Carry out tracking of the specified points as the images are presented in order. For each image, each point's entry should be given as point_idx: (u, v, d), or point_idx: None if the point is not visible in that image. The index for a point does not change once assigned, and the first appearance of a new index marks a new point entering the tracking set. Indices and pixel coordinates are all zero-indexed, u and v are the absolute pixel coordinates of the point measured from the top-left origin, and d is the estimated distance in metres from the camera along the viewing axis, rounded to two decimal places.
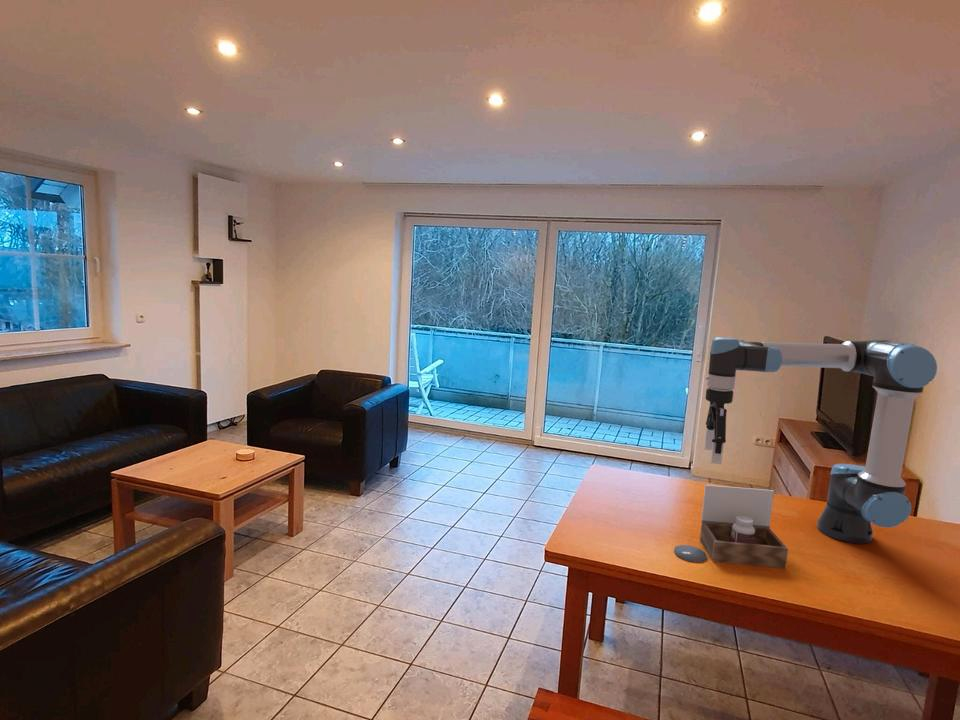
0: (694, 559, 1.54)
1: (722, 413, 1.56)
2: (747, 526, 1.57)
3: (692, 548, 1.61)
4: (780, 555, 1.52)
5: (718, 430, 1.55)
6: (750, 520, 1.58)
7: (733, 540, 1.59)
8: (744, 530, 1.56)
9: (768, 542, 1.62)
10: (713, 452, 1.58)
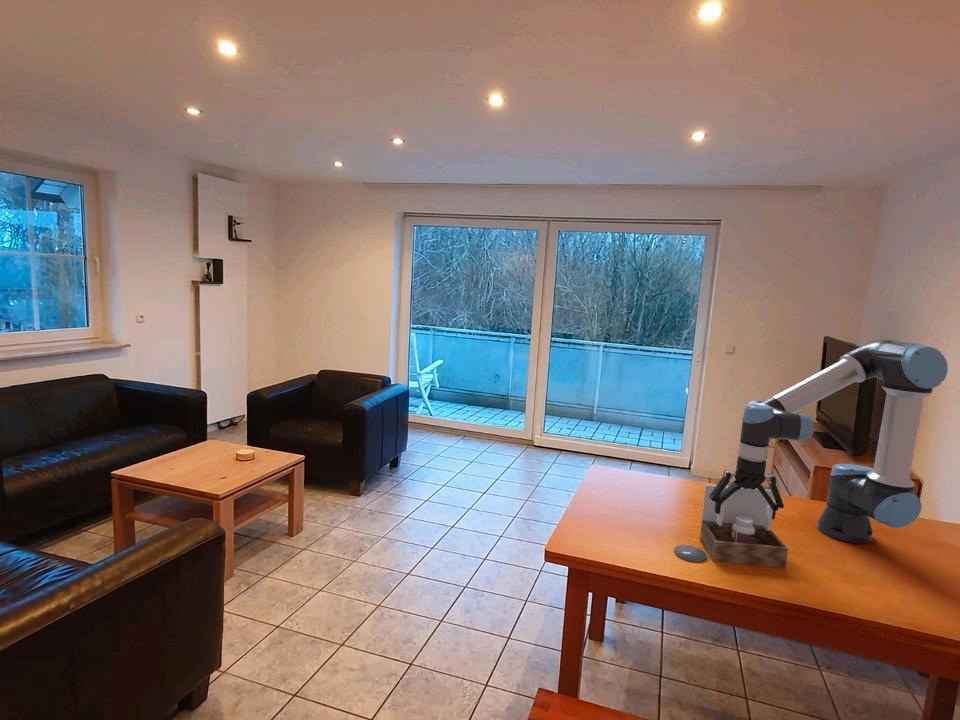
0: (694, 559, 1.54)
1: (725, 475, 1.57)
2: (747, 526, 1.57)
3: (692, 548, 1.61)
4: (780, 555, 1.52)
5: (715, 488, 1.59)
6: (750, 520, 1.58)
7: (733, 540, 1.59)
8: (744, 530, 1.56)
9: (768, 542, 1.62)
10: None
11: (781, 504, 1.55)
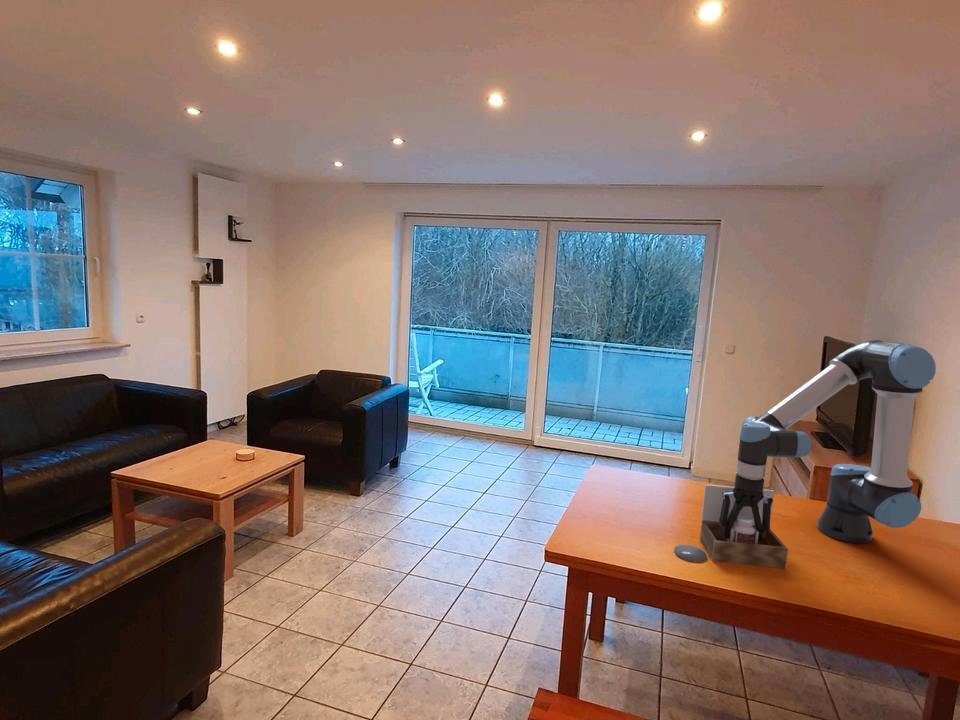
0: (694, 559, 1.54)
1: (724, 498, 1.58)
2: (747, 526, 1.57)
3: (692, 548, 1.61)
4: (780, 555, 1.52)
5: (721, 512, 1.60)
6: (750, 520, 1.58)
7: (733, 540, 1.59)
8: (744, 530, 1.56)
9: (768, 542, 1.62)
10: None
11: (767, 526, 1.57)
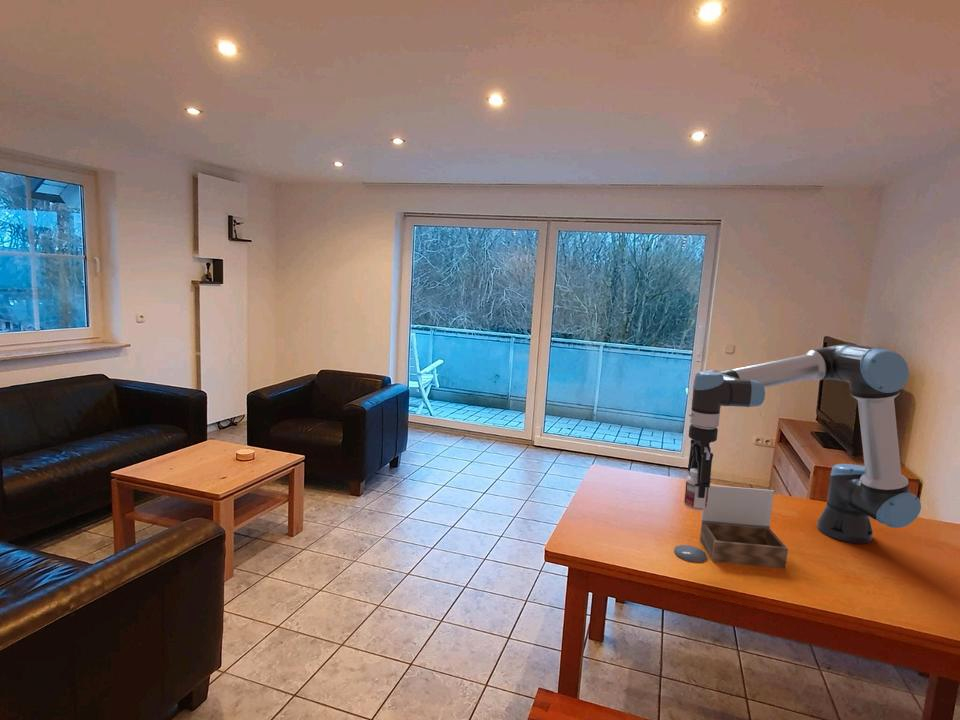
0: (694, 559, 1.54)
1: (708, 458, 1.47)
2: None
3: (692, 548, 1.61)
4: (780, 555, 1.52)
5: (703, 475, 1.48)
6: None
7: None
8: None
9: (768, 542, 1.62)
10: (696, 496, 1.52)
11: None
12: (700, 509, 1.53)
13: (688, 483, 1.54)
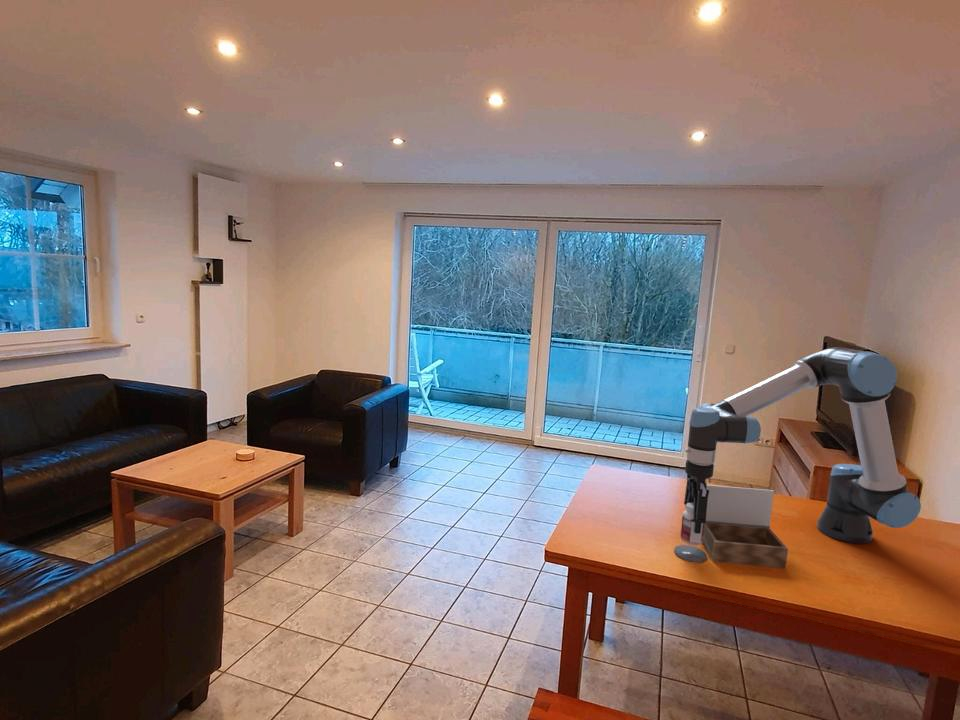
0: (694, 559, 1.54)
1: (704, 494, 1.49)
2: None
3: (692, 548, 1.61)
4: (780, 555, 1.52)
5: (699, 512, 1.50)
6: None
7: None
8: None
9: (768, 542, 1.62)
10: (692, 531, 1.54)
11: None
12: (696, 544, 1.55)
13: (684, 518, 1.56)
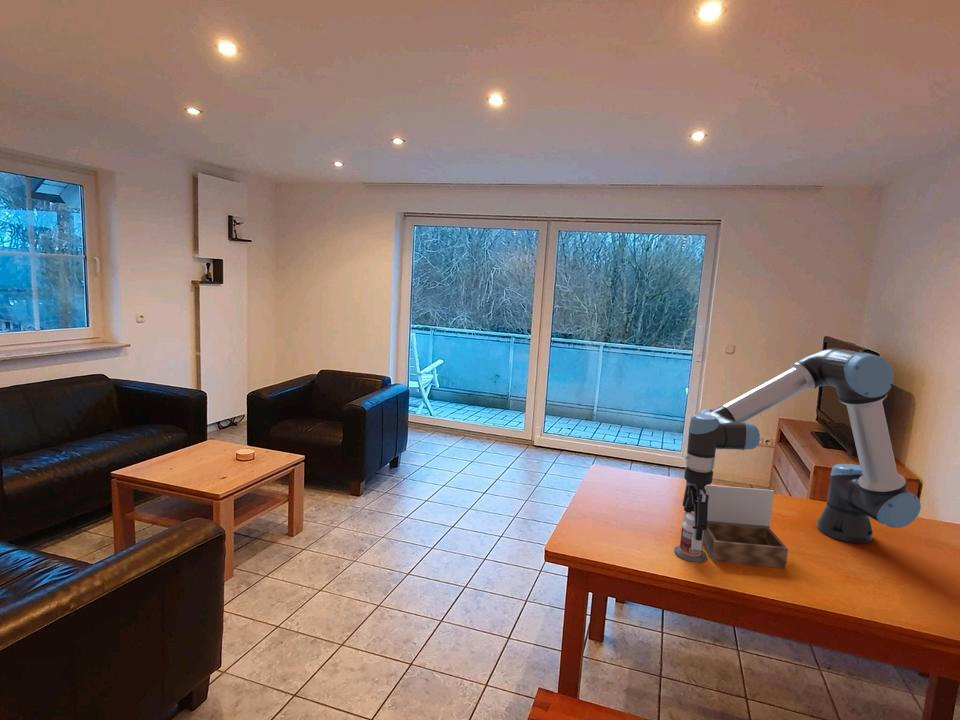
0: (694, 559, 1.54)
1: (704, 499, 1.49)
2: None
3: None
4: (780, 555, 1.52)
5: (700, 518, 1.49)
6: None
7: None
8: None
9: (768, 542, 1.62)
10: (693, 538, 1.52)
11: None
12: (695, 555, 1.55)
13: (684, 529, 1.57)
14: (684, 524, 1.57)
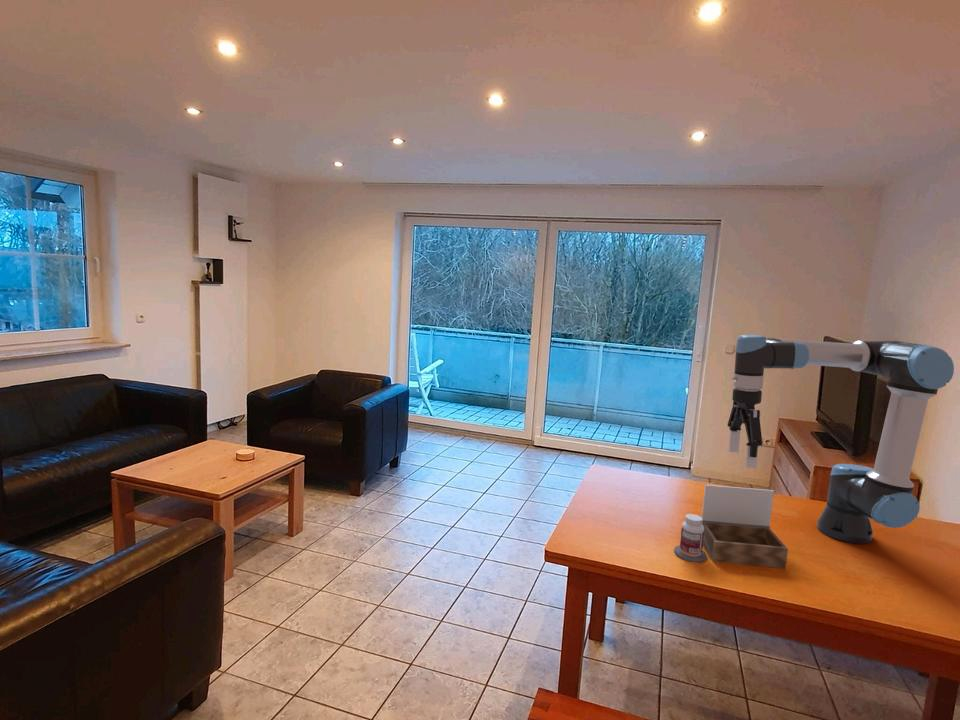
0: (694, 559, 1.54)
1: (755, 415, 1.49)
2: None
3: None
4: (780, 555, 1.52)
5: (753, 433, 1.47)
6: (695, 515, 1.58)
7: (697, 543, 1.55)
8: (702, 526, 1.56)
9: (768, 542, 1.62)
10: (748, 456, 1.50)
11: None
12: (695, 555, 1.55)
13: (683, 529, 1.57)
14: (684, 524, 1.57)
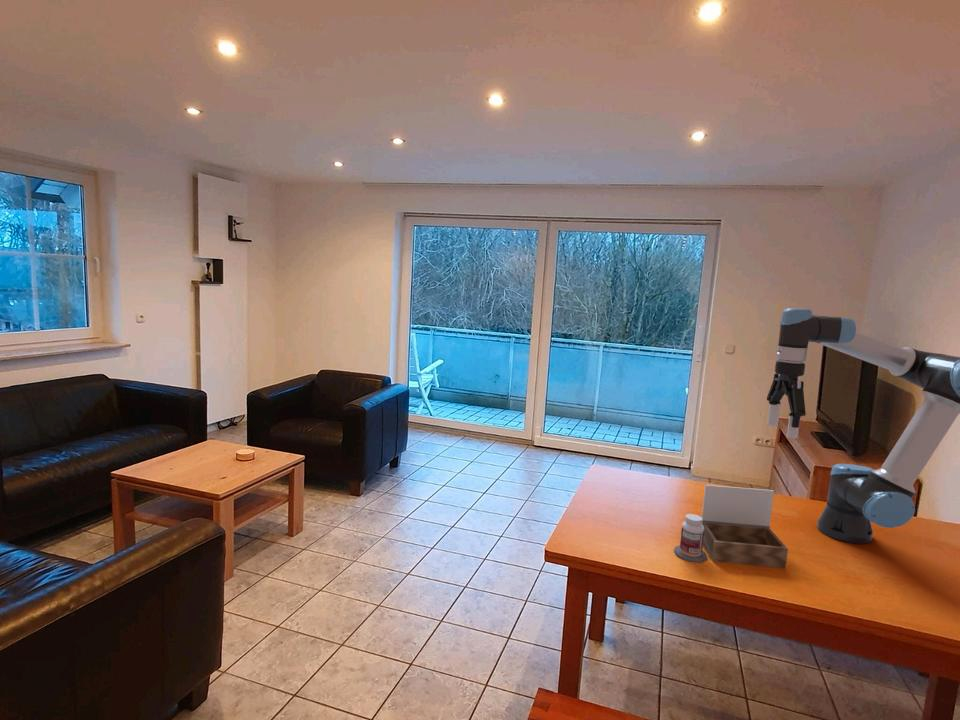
0: (694, 559, 1.54)
1: (799, 386, 1.51)
2: None
3: None
4: (780, 555, 1.52)
5: (797, 403, 1.50)
6: (695, 515, 1.58)
7: (698, 543, 1.55)
8: (703, 526, 1.56)
9: (768, 542, 1.62)
10: (790, 426, 1.53)
11: None
12: (695, 555, 1.55)
13: (684, 529, 1.57)
14: (684, 524, 1.57)
